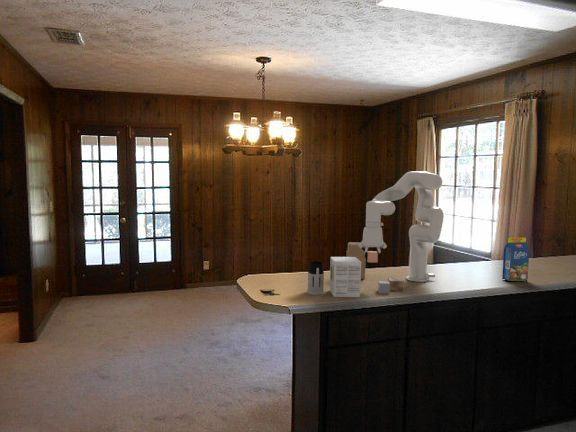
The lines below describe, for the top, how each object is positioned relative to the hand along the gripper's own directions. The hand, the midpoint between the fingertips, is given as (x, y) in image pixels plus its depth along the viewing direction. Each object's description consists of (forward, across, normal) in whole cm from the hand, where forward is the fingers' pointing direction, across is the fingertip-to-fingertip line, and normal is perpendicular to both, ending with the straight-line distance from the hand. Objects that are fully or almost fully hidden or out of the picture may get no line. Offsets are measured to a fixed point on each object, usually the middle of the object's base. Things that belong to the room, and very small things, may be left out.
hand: (372, 259), depth 234 cm
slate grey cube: (+15, -6, +7) cm, 18 cm away
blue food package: (+16, -84, -32) cm, 91 cm away
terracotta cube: (+1, 0, 0) cm, 1 cm away
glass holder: (+15, +28, +17) cm, 36 cm away
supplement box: (+15, +14, +15) cm, 25 cm away
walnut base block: (+15, -12, -1) cm, 20 cm away
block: (+15, +7, -24) cm, 30 cm away
